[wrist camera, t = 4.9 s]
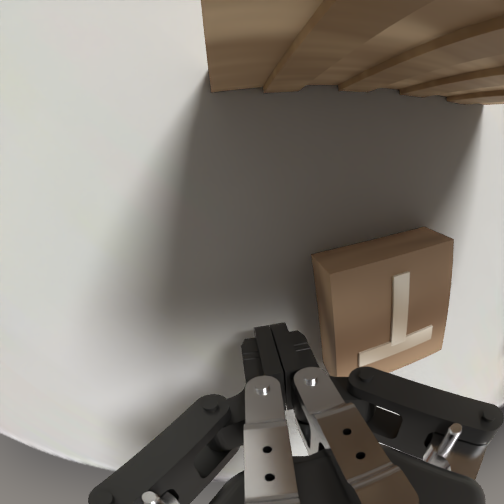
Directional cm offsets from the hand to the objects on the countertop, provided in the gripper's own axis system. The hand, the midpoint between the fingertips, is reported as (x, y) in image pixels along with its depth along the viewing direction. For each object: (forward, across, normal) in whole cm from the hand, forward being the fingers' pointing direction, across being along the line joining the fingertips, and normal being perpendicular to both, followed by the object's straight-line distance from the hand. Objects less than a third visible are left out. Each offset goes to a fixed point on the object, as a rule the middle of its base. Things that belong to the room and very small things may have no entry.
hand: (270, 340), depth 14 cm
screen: (+2, -7, -12) cm, 14 cm away
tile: (+2, -6, 0) cm, 7 cm away
